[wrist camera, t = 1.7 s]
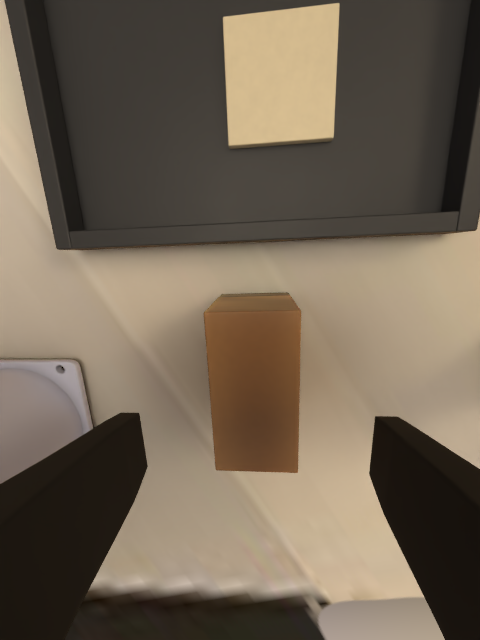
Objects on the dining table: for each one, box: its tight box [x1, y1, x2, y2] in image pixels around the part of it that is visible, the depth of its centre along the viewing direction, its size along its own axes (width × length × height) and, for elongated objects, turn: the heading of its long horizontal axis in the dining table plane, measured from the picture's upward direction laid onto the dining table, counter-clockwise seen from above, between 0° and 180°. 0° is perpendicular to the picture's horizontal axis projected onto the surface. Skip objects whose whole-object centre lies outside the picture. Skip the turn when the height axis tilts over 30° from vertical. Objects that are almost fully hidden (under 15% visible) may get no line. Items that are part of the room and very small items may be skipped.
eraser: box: [204, 293, 301, 473], centre depth 12 cm, size 4×7×4 cm, turn 2°
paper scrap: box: [223, 3, 340, 149], centre depth 11 cm, size 4×4×1 cm
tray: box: [5, 0, 480, 250], centre depth 11 cm, size 19×13×2 cm
